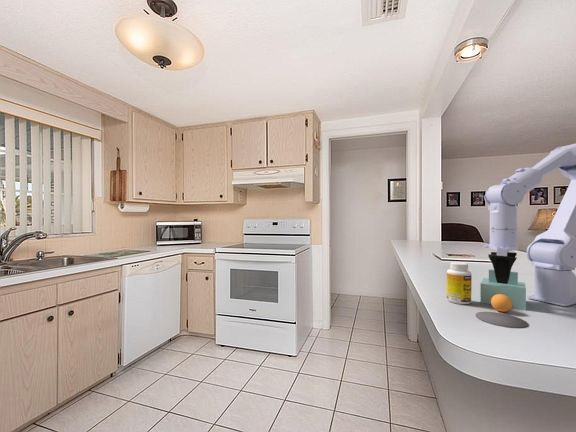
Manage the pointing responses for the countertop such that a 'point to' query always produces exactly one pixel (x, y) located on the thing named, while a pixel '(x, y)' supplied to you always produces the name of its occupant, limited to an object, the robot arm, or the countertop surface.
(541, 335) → the countertop surface
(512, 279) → the two-tier mint step
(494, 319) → the disc
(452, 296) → the supplement bottle
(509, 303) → the ball
